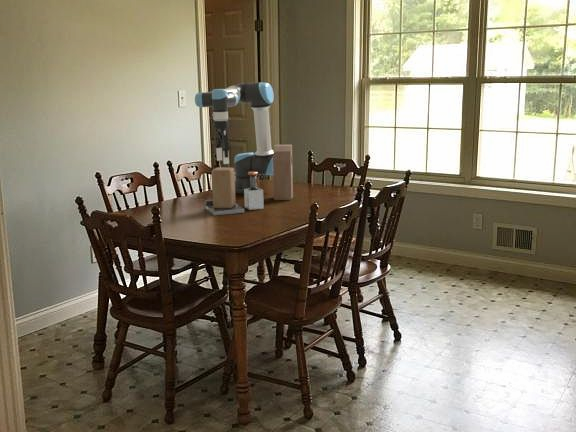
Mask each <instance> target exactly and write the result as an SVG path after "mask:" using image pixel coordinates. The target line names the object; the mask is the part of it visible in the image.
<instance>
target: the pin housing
mask: <svg viewBox="0 0 576 432" xmlns="http://www.w3.org/2000/svg"><path fill="white" fill-rule="evenodd" d="M243 195H244V196H243V198H244V209H247V210H248V211H253V210H263V209H264V208H265V205H264V203H265V202H264V200H265V199H264V189H263V188H261V187H259V186H258V188H256V190H251V188H246V189H244V193H243Z"/></svg>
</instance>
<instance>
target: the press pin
mask: <svg viewBox="0 0 576 432" xmlns="http://www.w3.org/2000/svg"><path fill="white" fill-rule="evenodd" d="M248 174H249V175H250V183H251V190H256V184H257V176H258V175H257V174H258V172H248Z"/></svg>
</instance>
